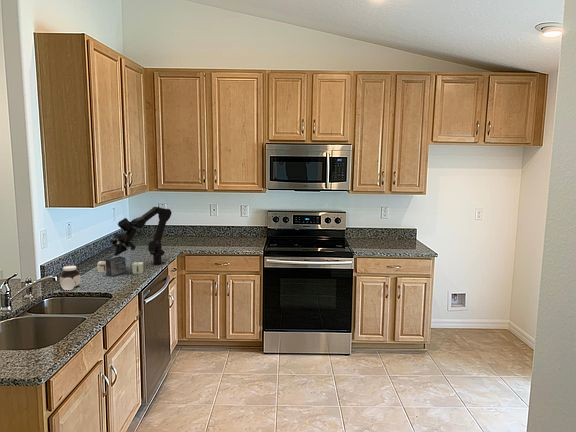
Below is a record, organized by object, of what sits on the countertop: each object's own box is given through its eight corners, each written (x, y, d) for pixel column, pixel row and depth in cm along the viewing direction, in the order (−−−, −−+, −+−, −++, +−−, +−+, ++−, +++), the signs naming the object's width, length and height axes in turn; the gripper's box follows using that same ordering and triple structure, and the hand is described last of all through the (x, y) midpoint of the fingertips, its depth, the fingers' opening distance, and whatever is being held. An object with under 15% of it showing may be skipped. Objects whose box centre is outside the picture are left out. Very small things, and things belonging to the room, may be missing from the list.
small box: (121, 271, 288) (120, 255, 287) (126, 273, 284) (126, 257, 283) (105, 275, 280) (104, 258, 279) (111, 276, 276) (110, 260, 275)
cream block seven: (99, 270, 292) (98, 261, 291) (109, 269, 293) (108, 260, 292) (97, 272, 286) (97, 263, 285) (107, 272, 287) (107, 262, 286)
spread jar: (76, 284, 260) (75, 264, 259) (85, 287, 253) (84, 267, 252) (55, 288, 251) (53, 268, 250) (64, 292, 244) (62, 271, 243)
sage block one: (133, 271, 289) (133, 262, 289) (143, 271, 291) (143, 261, 290) (132, 274, 283) (132, 264, 282) (142, 273, 285) (142, 263, 284)
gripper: (111, 226, 288) (97, 246, 280) (131, 229, 278) (116, 249, 270) (122, 237, 295) (108, 256, 288) (141, 240, 286) (128, 260, 278)
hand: (115, 255), depth 281 cm, fingers closed
